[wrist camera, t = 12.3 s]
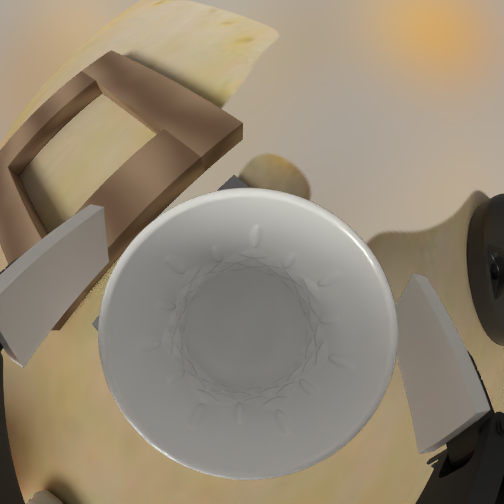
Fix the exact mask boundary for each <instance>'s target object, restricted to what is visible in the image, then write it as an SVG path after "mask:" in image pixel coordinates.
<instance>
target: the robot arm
mask: <svg viewBox="0 0 504 504" xmlns="http://www.w3.org/2000/svg"><path fill="white" fill-rule="evenodd" d="M467 257H468V272H469V281H470V287H471V292H472V297H473V301H474V305H475V309H476V312H477V315H478V318H479V320H480V322H481V325H482V327H483V329H484V330H485V332H486V334H487V335H488V336H489V337H490V339H491V340H492V341H494V342H495V343H496V344H499V345H502V346H504V194H499V195H497V196H494V197H492V198H491V199H489V200H488V201H486V202H484V203H483V204H481V205H480V206H479V207H478V208H477V210H476V211H475V213H474V215H473V217H472V220H471V224H470V228H469V235H468V249H467ZM108 262H109V256H108V248H107V239H106V228H105V216H104V207H102V206H97V205H91V204H90V205H89V206H87V207H86V208H84V209H83V210H81V211H80V212H78V213H77V214H75V215H74V216H73V217H71V218H70V219H68V220H67V221H65V222H64V223H63V224H61V225H60V226H59V227H57V228H56V229H55V230H53V231H52V232H51V233H49V234H48V235H47V236H45V237H44V238H43V239H41V240H40V241H39V242H38V243H36V244H35V245H34V246H33V247H31V248H30V249H29V250H28V251H27V252H25V253H24V254H23V255H22V256H21V257H19V258H17V259H15V260H14V261H13V262H11V263H10V264H9V265H8V266H7V267H6V269H4V270H2V271H1V272H0V352H1V350H2V349H3V348H4V350H5V351H6V353H7V354H8V356H9V357H10V359H12V360H13V361H14V362H16V363H17V364H18V365H20V366H21V367H23V368H24V367H25V365H26V364H27V362H28V361H29V360H30V358H31V357H32V355H33V354H34V352H35V351H36V350H37V348H38V347H39V346H40V344H41V343H42V341H43V340H44V339H45V337H46V336H47V335H48V333H49V332H50V331H51V329H52V328H53V327H54V326H55V324H56V323H57V322H58V321H59V319H60V318H61V317H62V316H63V314H64V313H65V312H66V311H67V309H68V308H69V307H70V306H71V304H72V303H73V302H74V301H75V300H76V299H77V297H78V296H79V295H80V294H81V293H82V291H83V290H84V289H85V288H86V287H87V286H88V285H89V283H90V282H91V281H92V280H93V279H94V278H95V277H96V276H97V274H98V273H99V272H100V271H101V270H102V269H103V268H104V267H105V266H106V265H107V264H108ZM395 307H396V313H397V322H398V346H397V355H396V356H397V360H398V363H399V367H400V370H401V374H402V378H403V382H404V386H405V390H406V394H407V398H408V402H409V407H410V411H411V416H412V421H413V426H414V431H415V436H416V442H417V448H418V454H421V453H426V452H431V451H435V450H436V449H438V448H439V447H441V446H443V445H444V444H446V445H447V449H445V450H444V451H442V452H441V453H439V454H437V455H436V456H434V457H432V458H431V459H429V461H428V462H427V464H428V465H429V464H430V463H432V462H434V461H436V460H437V459H438V462H436V463H434V464H433V465H432V466H431V467H433V468H434V470H433V472H432V474H431V476H430V478H429V480H428V482H427V484H426V486H425V488H424V490H423V492H422V493H421V495H420V497H419V499H418V500H417V502H416V504H504V413H502V412H496V413H494V410H493V408H492V405H491V402H490V399H489V396H488V394H487V391H486V388H485V386H484V383H483V381H482V379H481V376H480V373H479V371H477V366H476V364H475V362H474V360H473V357H472V356H471V355H470V354H469V352H468V351H467V350H466V348H465V346H464V344H463V342H462V339H461V337H460V335H459V333H458V331H457V330H456V328H455V326H454V324H453V322H452V320H451V318H450V316H449V314H448V313H447V311H446V309H445V307H444V305H443V304H442V302H441V300H440V298H439V297H438V295H437V293H436V292H435V290H434V288H433V287H432V285H431V283H430V282H429V280H428V279H427V277H426V276H422V275H418V274H413V275H412V276H411V278H410V280H409V282H408V284H407V286H406V288H405V289H404V291H403V293H402V295H401V297H400V298H399V300H398V302H397V303H396V305H395ZM0 504H25V503H24V500H23V497H22V494H21V491H20V487H19V484H18V480H17V477H16V473H15V469H14V465H13V460H12V456H11V451H10V445H9V439H8V433H7V426H6V418H5V407H4V392H3V356H2V354H1V353H0Z"/></svg>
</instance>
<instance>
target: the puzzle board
mask: <svg viewBox="0 0 504 504" xmlns="http://www.w3.org/2000/svg"><path fill="white" fill-rule="evenodd" d="M101 93H103V94H104V95H106V96H107V97H108V98H110V99H111V100H112V101H114V102H115V103H116V104H118V105H119V106H120V107H122V108H123V109H124V110H126V111H127V112H128V113H130V114H131V115H132V116H134V117H135V118H136V119H138V120H139V121H140V122H142V123H143V124H144V125H145V126H147V127H148V128H149V129H151V130H152V131H153V132H155V133H156V134H157V135H156V136H155V137H154V138H152V139H151V140H150V141H149V142H148V143H146V144H145V145H144V146H143V147H142V148H141V149H140V150H138V151H137V152H136V153H135V154H134V155H133V156H132V157H131V158H129V159H128V160H127V161H126V162H125V163H124V164H123V165H122V166H121V167H120V168H119V169H118V170H117V171H116V172H115V173H114V174H112V175H111V176H110V177H109V178H108V179H107V180H106V181H105V182H104V183H103V184H102V185H101V186H100V188H99V189H98V190H97V191H96V192H95V193H94V194H93V195H92V196H91V197H90V198H89V199H88V200H87V201H86V202H85V203H84V205H83V206H82V207H81V208H80V209H79V210H78V211H77V212H76V214H77V213H78V212H80V211H81V210H83V209H84V208H86V207H87V206H89V205H90V204H91V205H97V206H102V207H104V216H105V228H106V239H107V248H108V256H109V262H108V264H107V265H106V266H105V267H104V268H103V269H102V270H101V271H100V272H99V273H98V274H97V276H96V277H95V278H94V279H93V280H92V281H91V282H90V283H89V285H88V286H87V287H86V288H85V289H84V290H83V291H82V293H81V294H80V295H79V296H78V297H77V299H76V300H75V301H74V302H73V303H72V304H71V306H70V307H69V308H68V309H67V311H66V312H65V313H64V314H63V316H62V317H61V318H60V319H59V321H58V322H57V323H56V324H55V326H54V327H53V328H52V329H51V330H60V329H61V327H62V326H63V325H64V323H65V322H66V321H67V319H68V318H69V317H70V315H71V314H72V313H73V312H74V310H75V309H76V308H77V306H78V305H79V304H80V303H81V301H82V300H83V299H84V298H85V296H86V295H87V294H88V293H89V292H90V290H91V289H92V288H93V287H94V285H95V284H96V283H97V282H98V281H99V280H100V278H101V277H102V276H103V275H104V274H105V273H106V271H107V270H108V269H109V268H110V267H111V266H112V264H113V263H114V262H115V261H116V260H117V259H118V258H119V257H120V256H121V254H122V253H123V252H124V251H125V250H126V248H127V247H128V246H129V244H130V243H131V242H132V241H133V240H134V238H135V237H136V236H137V235H138V234H139V233H140V232H141V231H142V230H143V229H144V228H145V227H146V226H148V225H149V224H150V223H151V222H152V221H154V220H155V219H156V218H157V217H158V216H159V215H160V214H161V213H162V211H164V209H165V208H167V206H169V205H170V204H171V203H172V202H173V201H174V200H175V199H176V198H177V197H178V196H179V195H180V194H181V193H182V192H183V191H184V190H185V189H186V188H187V187H188V186H190V185H191V184H192V183H193V182H194V181H195V180H196V179H197V178H198V177H199V176H201V175H202V174H203V173H204V172H205V171H206V170H207V169H208V168H210V166H212V165H213V164H214V163H215V162H216V161H217V160H219V159H220V158H221V157H222V156H223V155H225V154H226V153H227V152H228V151H229V150H230V149H231V148H233V147H234V146H235V145H236V144H238V143H239V142H240V141H241V140H242V137H243V123H242V122H240V121H239V120H237V119H236V118H234V117H233V116H231V115H230V114H228V113H227V112H225V111H223V110H222V109H220V108H219V107H217V106H215V105H214V104H212V103H211V102H209V101H207V100H206V99H204V98H202V97H201V96H199V95H197V94H196V93H194V92H192V91H190V90H189V89H187V88H185V87H183V86H182V85H180V84H178V83H176V82H174V81H172V80H171V79H169V78H167V77H165V76H163V75H161V74H159V73H157V72H155V71H154V70H152V69H150V68H148V67H146V66H144V65H142V64H140V63H137V62H135V61H133V60H131V59H129V58H127V57H125V56H123V55H120V54H118V53H116V52H114V51H109V52H108V53H106V54H105V55H103V56H102V57H100V58H99V59H98V60H96V61H95V62H93V63H92V64H91V65H89V66H88V67H86V68H85V69H84V70H82V71H81V72H80V73H79V74H77V75H76V76H75V77H73V78H72V79H71V80H70V81H69V82H67V83H66V84H65V85H64V86H63V87H61V88H60V89H59V90H58V91H57V92H56V93H55V94H53V95H52V96H51V97H50V98H49V99H48V100H47V101H46V102H45V103H44V104H43V105H42V106H40V107H39V108H38V109H37V110H36V111H35V112H34V113H33V114H32V115H31V116H30V117H29V119H28V120H27V121H26V122H25V123H24V124H23V125H22V126H21V127H20V128H19V129H18V130H17V131H16V133H15V134H14V135H13V136H12V137H11V138H10V140H9V141H8V142H7V143H6V144H5V146H4V147H3V148H2V149H1V150H0V245H1V247H2V250H3V252H4V255H5V257H6V260H7V262H8V264H10V263H11V262H13V261H14V260H15V259H17V258H19V257H21V256H22V255H23V254H24V253H25V252H27V251H28V250H29V249H30V248H31V247H33V246H34V245H35V244H36V243H38V242H39V241H40V240H41V239H43V238H44V237H45V236H47V235H48V232H47V230H46V228H45V227H44V225H43V223H42V221H41V220H40V218H39V216H38V214H37V212H36V210H35V208H34V207H33V205H32V203H31V201H30V199H29V197H28V195H27V193H26V191H25V189H24V186H23V184H22V182H21V180H20V178H19V174H20V173H21V172H22V171H23V169H24V168H25V167H26V166H27V165H28V163H29V162H30V161H31V160H32V159H33V158H34V157H35V155H36V154H37V153H38V152H39V151H40V150H41V149H42V148H43V147H44V146H45V144H46V143H47V142H48V141H49V140H50V139H51V138H52V137H53V136H54V135H55V134H56V133H57V132H58V131H59V130H60V129H61V128H62V127H63V126H64V125H65V124H67V123H68V122H69V121H70V120H71V119H72V118H73V117H74V116H75V115H76V114H77V113H79V112H80V111H81V110H82V109H83V108H84V107H85V106H87V105H88V104H89V103H90V102H91V101H93V100H94V99H95V98H96V97H98V96H99V95H100V94H101Z"/></svg>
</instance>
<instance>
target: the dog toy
mask: <svg viewBox="0 0 504 504" xmlns="http://www.w3.org/2000/svg"><path fill="white" fill-rule="evenodd" d="M27 504H63V502H62V501H61V500H59V499H58V498H57V497H56V496H54V495H53V494H52V493H50V492H49V491H46V490H43V491H39V492H36V493H35V494H34V496H33V498H32V499H30V500H29V501H28V503H27Z"/></svg>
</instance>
